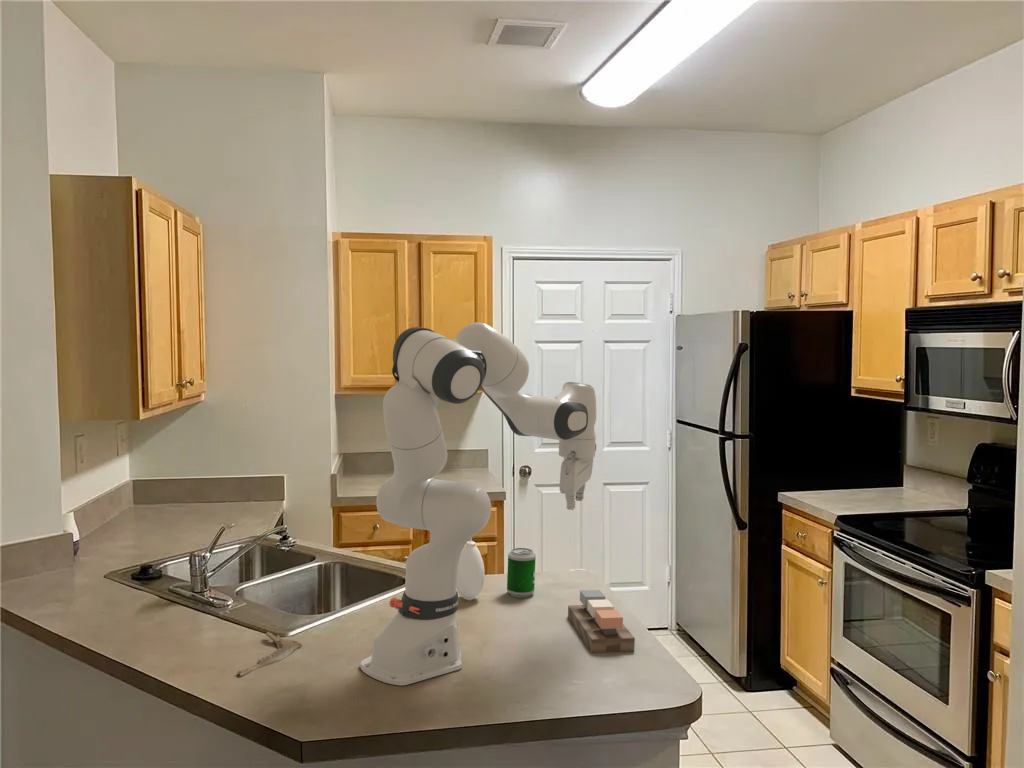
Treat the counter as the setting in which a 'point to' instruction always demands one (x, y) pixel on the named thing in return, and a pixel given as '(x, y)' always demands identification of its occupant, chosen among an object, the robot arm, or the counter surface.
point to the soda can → (521, 572)
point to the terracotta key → (609, 621)
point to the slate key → (590, 596)
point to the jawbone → (284, 651)
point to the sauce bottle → (470, 572)
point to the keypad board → (599, 633)
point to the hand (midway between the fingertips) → (575, 504)
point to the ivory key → (598, 607)
